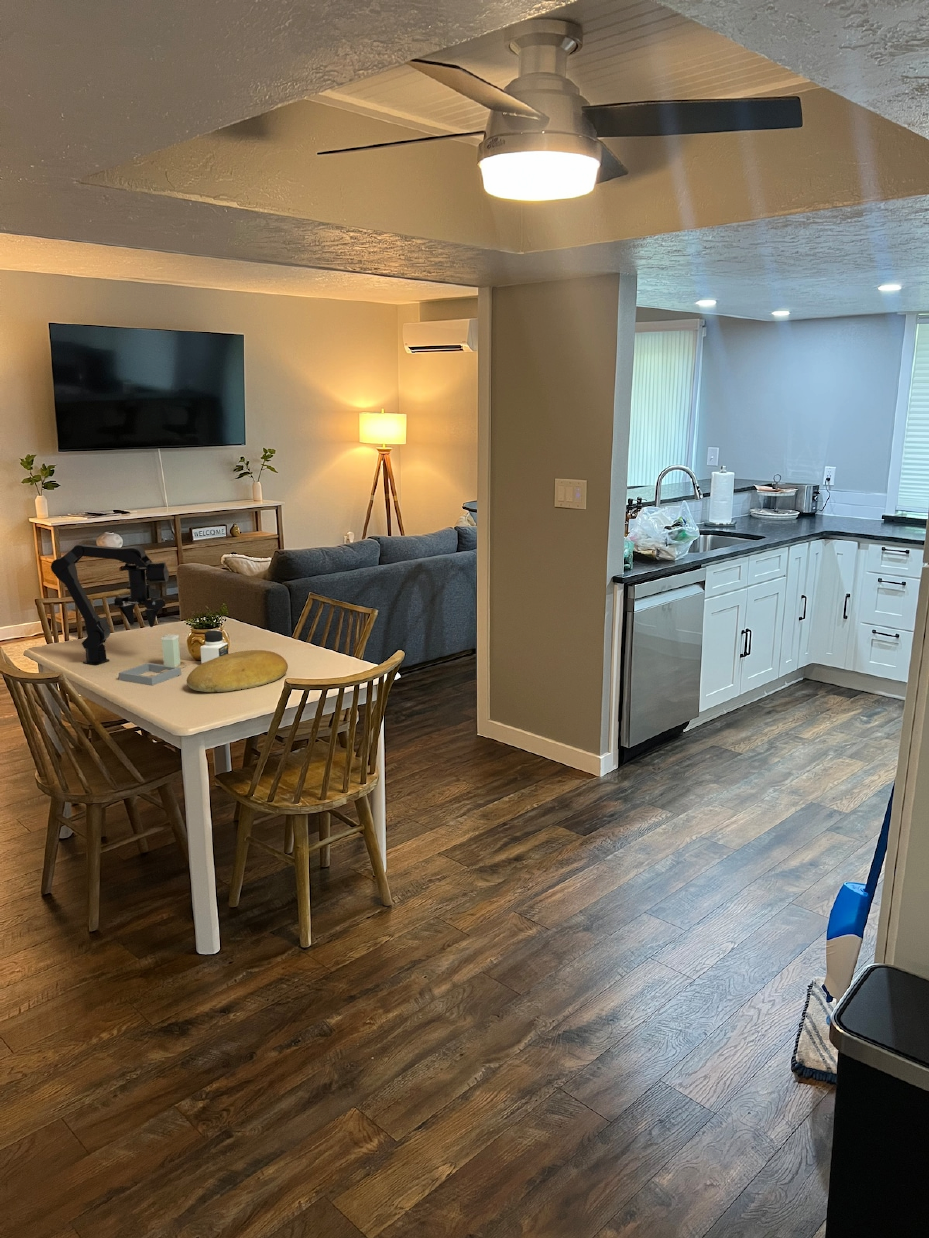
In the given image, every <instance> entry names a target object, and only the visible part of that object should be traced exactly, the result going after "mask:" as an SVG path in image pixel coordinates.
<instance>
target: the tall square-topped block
mask: <svg viewBox="0 0 929 1238" xmlns="http://www.w3.org/2000/svg"><path fill="white" fill-rule="evenodd" d="M160 640H161V645H162V646H161V647H162V656H163V657H162V659H163V663H164V665H166V666H173V667H176V666H178V665H180V662H181V655H180V643H179V641H180V640H179V634H165V635H164V636H162V637H161V639H160Z"/></svg>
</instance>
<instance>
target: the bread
mask: <svg viewBox="0 0 929 1238" xmlns="http://www.w3.org/2000/svg"><path fill="white" fill-rule="evenodd" d="M288 669H289V665H288V662H287V660H286V659H285V657H284V656H282V655H281V654H279V653H278V652H273V651H271V650H263V649H255V650H253V649H252V650H250V649H249V650H241V651H236V652H235V651H234V652H231V653H228V654H226V655H223V656H219V657H217V658H214V659H212V660H209V661H207V662H204V663H202V664H199V665H197V666H196V667H195V668H194V669H192V670H191V671H190V673H189V674H188V676H187V678H186V685H187V687H189V688H190V689H191V690H194V691H196V692H197V691H198V692H205V693H223V692H232V691H240V690H241V689H242V690H248V689H247V688H249V689H253V688H257V687H261V686H264V685H267V683H268V684H270V683H272V682H275V681H277V680H279V679H281V678H282V677H283V676H284V675H285V674H287V672H288Z"/></svg>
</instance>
